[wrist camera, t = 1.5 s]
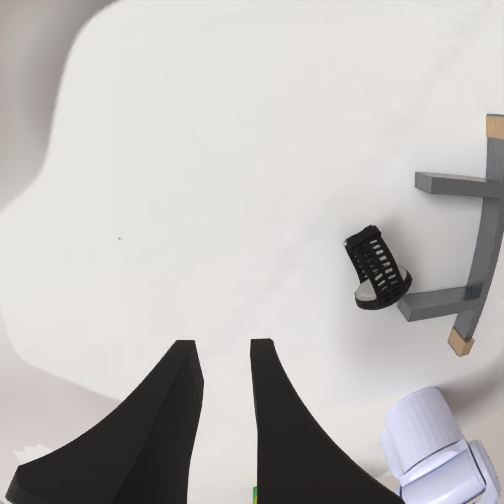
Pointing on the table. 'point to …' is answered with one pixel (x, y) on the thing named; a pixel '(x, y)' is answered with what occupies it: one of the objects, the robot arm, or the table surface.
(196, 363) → the robot arm
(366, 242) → the smartwatch
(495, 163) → the bracket
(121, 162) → the table surface
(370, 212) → the table surface
